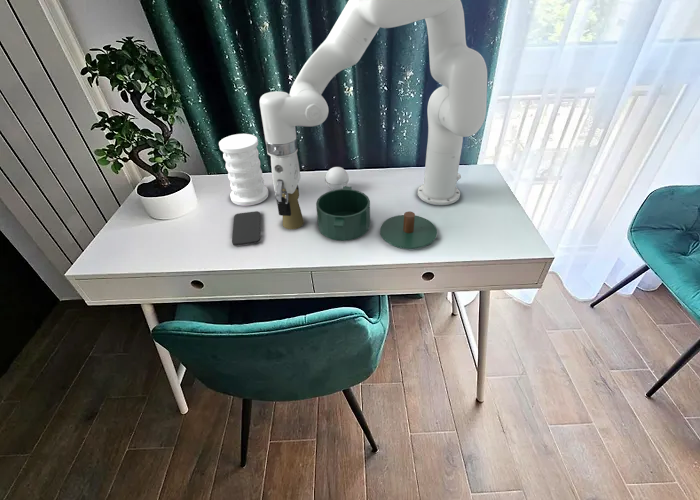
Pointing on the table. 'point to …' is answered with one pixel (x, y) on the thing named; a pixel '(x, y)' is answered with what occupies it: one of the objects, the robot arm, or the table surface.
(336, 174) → the white rounded upright piece
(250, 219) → the phone
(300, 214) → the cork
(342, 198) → the pot
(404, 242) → the lid
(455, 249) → the table surface
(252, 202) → the decorative container
